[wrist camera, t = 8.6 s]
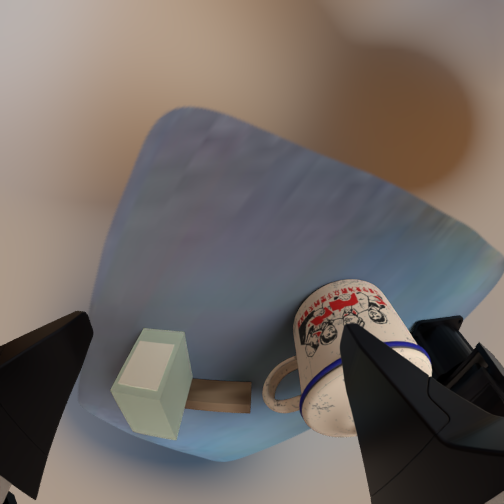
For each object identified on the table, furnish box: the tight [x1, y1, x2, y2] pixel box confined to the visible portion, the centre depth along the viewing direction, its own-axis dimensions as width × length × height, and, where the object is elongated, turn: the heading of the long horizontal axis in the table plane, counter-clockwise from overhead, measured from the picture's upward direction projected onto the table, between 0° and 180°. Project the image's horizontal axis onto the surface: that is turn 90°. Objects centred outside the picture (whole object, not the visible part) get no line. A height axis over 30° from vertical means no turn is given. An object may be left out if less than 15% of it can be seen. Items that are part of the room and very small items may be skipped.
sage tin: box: [110, 328, 193, 440], centre depth 21 cm, size 4×6×8 cm, turn 0°
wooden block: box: [185, 379, 251, 413], centre depth 25 cm, size 12×2×3 cm, turn 90°
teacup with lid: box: [262, 279, 432, 437], centre depth 17 cm, size 12×9×12 cm
